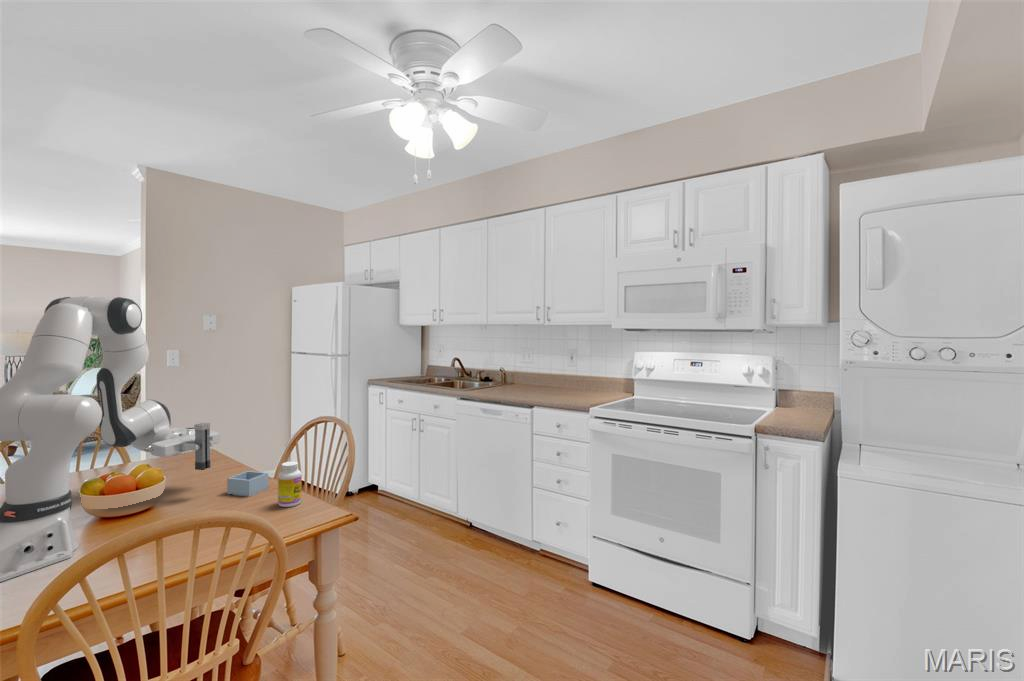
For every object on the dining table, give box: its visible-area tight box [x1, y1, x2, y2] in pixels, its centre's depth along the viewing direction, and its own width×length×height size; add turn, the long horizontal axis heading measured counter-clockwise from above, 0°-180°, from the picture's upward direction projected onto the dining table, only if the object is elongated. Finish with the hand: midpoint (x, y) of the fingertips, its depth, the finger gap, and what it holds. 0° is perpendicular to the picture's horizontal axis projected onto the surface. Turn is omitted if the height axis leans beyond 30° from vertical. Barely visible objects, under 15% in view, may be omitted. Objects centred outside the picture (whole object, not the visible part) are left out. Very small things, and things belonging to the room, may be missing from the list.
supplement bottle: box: [277, 461, 302, 508], centre depth 152 cm, size 7×7×13 cm
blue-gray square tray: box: [226, 470, 269, 498], centre depth 163 cm, size 9×9×5 cm
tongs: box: [193, 422, 211, 471], centre depth 156 cm, size 3×3×14 cm
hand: (204, 445), depth 155 cm, fingers closed on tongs, 3 cm apart
